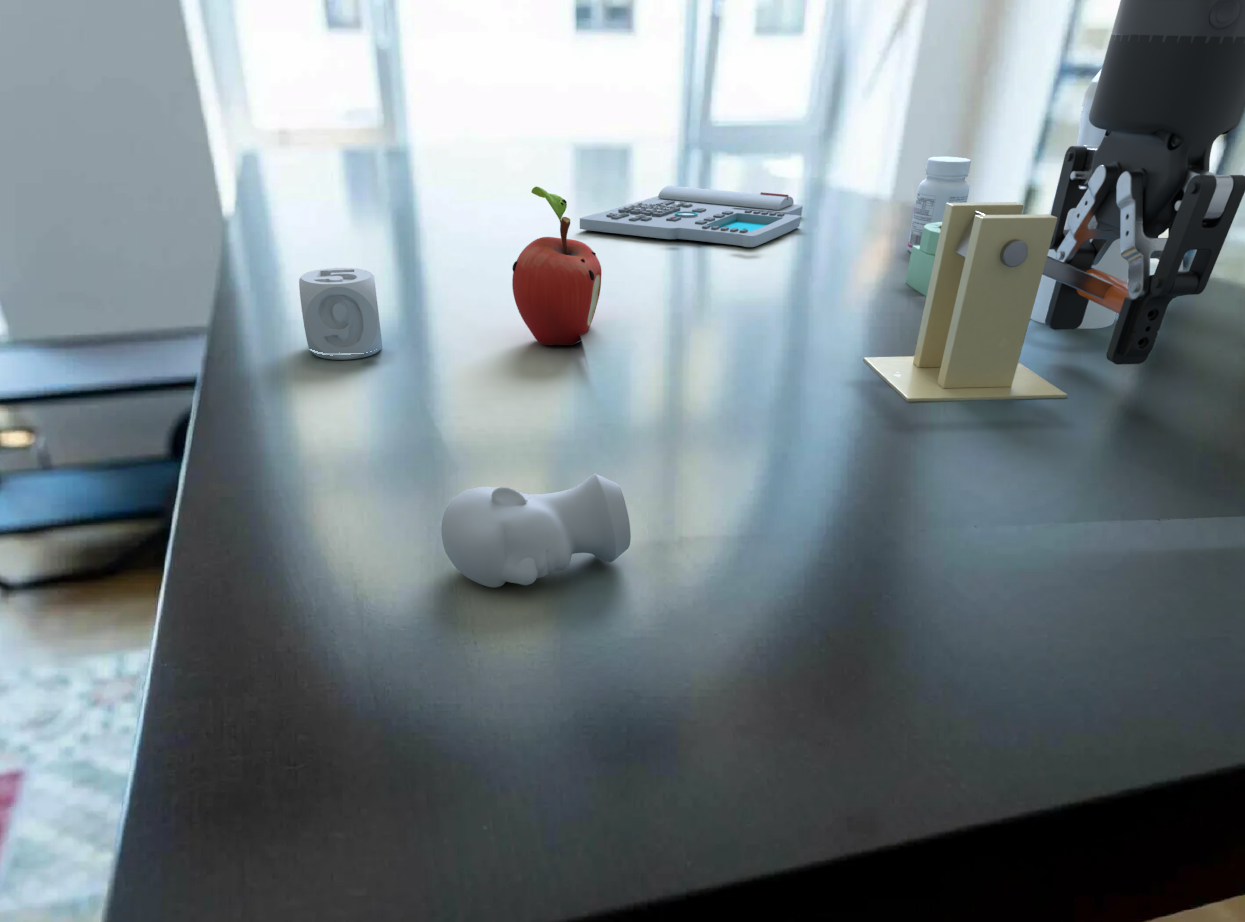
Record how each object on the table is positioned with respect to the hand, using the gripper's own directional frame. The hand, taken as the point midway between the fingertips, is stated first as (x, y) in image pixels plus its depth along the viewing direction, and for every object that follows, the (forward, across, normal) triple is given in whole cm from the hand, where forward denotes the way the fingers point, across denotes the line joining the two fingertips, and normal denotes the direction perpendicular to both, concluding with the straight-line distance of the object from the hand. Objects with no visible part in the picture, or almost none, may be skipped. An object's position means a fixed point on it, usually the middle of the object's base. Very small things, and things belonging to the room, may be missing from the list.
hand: (1091, 343), depth 59 cm
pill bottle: (+3, +41, -7) cm, 42 cm away
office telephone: (+3, +57, +13) cm, 59 cm away
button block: (+3, +25, -4) cm, 25 cm away
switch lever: (-4, 0, +5) cm, 6 cm away
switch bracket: (+3, 0, +8) cm, 9 cm away
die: (+3, +12, +48) cm, 50 cm away
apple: (+3, +13, +33) cm, 36 cm away
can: (+3, +13, -6) cm, 15 cm away
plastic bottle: (+3, +26, -14) cm, 30 cm away
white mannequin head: (+3, -21, +36) cm, 42 cm away
